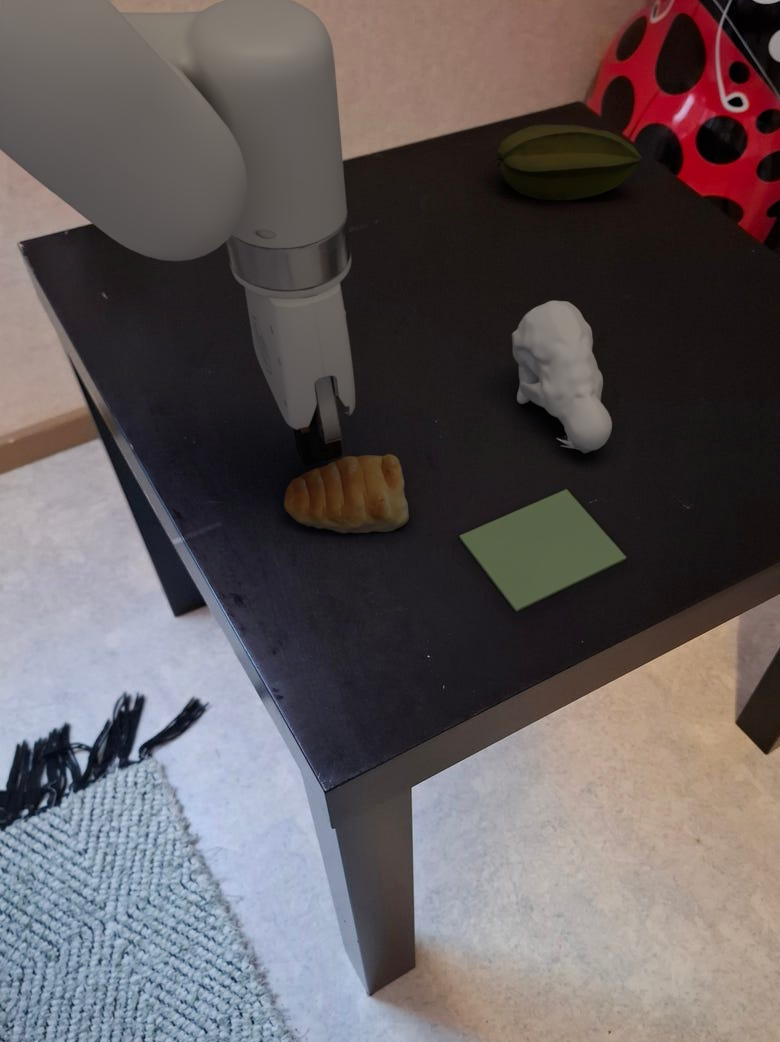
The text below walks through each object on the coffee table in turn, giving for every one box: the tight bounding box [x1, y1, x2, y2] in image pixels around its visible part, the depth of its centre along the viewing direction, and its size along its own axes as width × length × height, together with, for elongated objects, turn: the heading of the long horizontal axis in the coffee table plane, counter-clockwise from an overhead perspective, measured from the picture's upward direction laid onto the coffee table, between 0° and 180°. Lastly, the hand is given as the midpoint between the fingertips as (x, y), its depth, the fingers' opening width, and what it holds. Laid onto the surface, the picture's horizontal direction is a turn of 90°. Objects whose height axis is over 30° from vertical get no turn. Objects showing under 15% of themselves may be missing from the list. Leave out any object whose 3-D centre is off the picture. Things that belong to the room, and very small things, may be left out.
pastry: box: [283, 453, 410, 534], centre depth 69 cm, size 9×7×4 cm
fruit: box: [496, 123, 644, 202], centre depth 94 cm, size 11×12×7 cm
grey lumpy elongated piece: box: [511, 300, 613, 454], centre depth 74 cm, size 6×8×12 cm
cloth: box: [458, 488, 627, 613], centre depth 69 cm, size 10×8×1 cm
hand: (319, 454), depth 71 cm, fingers closed
